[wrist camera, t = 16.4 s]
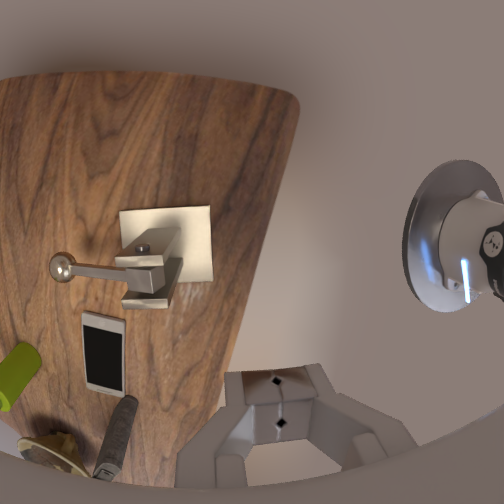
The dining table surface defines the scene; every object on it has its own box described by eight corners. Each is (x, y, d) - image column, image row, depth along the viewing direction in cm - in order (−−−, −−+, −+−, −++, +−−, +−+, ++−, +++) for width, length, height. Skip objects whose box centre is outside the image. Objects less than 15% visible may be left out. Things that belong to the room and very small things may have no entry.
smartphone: (125, 320, 41) (124, 323, 40) (125, 395, 45) (124, 398, 44) (83, 309, 40) (80, 312, 39) (88, 385, 44) (86, 388, 43)
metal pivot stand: (129, 281, 40) (92, 332, 26) (121, 210, 38) (73, 230, 23) (213, 278, 41) (212, 332, 27) (210, 204, 39) (205, 222, 25)
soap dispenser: (15, 332, 40) (-44, 396, 21) (44, 355, 41) (-9, 428, 22) (10, 352, 41) (-42, 415, 21) (38, 374, 42) (-9, 444, 23)
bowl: (44, 400, 44) (26, 430, 35) (113, 450, 49) (104, 483, 39) (22, 428, 46) (8, 454, 36) (81, 470, 50) (73, 498, 41)
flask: (104, 432, 47) (82, 501, 30) (121, 390, 45) (94, 469, 27) (120, 439, 48) (103, 509, 30) (140, 399, 45) (120, 480, 28)
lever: (66, 276, 32) (46, 285, 29) (61, 247, 31) (40, 255, 28) (169, 289, 29) (150, 303, 25) (165, 253, 28) (145, 264, 24)
